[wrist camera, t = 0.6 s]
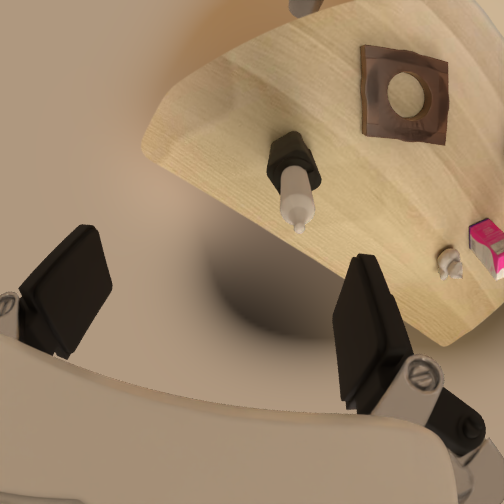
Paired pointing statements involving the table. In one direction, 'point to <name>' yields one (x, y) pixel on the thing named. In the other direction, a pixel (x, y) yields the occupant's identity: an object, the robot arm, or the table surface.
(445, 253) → the white animal figurine
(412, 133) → the hole plate
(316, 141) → the table surface
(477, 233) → the supplement box
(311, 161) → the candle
